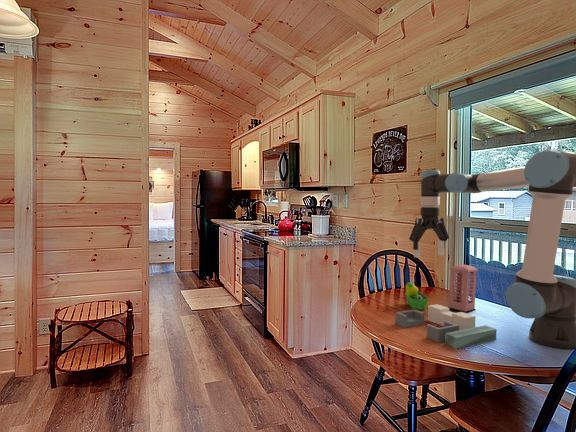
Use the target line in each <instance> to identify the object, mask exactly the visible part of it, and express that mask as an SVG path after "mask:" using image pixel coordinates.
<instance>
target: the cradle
mask: <svg viewBox="0 0 576 432" xmlns="http://www.w3.org/2000/svg"><path fill="white" fill-rule="evenodd" d="M425 315H426V314H425V312H423V311H420V310H417V309H415V310H414V309H411V310H410V309H409V310H404V311H403V310H402V311H397V312H395V314H394V316H395V317H394V324H395V325H397V326H399V327H401V328H404V329H405V328H412V327H417V326H422V325H425ZM454 331H459V325H457V324H454V323H451V322H448V321H445V322H444V326H441V327H438V326H436V325H433V324H430V323H429V324H426V339H430V340H431V341H433V342H437V343H441V342H445V333H449V332H454Z"/></svg>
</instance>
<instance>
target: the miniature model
mask: <svg viewBox="0 0 576 432" xmlns="http://www.w3.org/2000/svg"><path fill="white" fill-rule="evenodd" d="M449 270H450V278H449V279H450V281H449V297H448V306H447V307H448V308H449V310H453V311H456V312H457V311H458V312H463V313H467V314H468V313H470V312H473V311H476V310H477V309H476V306H475V305H476V304H475V303H476V287H477V273H478V271H479V270H478V268H477V267H475V266H472V265H468V264H457V265H453V266H451V267H450V268H449Z"/></svg>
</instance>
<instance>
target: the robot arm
mask: <svg viewBox="0 0 576 432" xmlns="http://www.w3.org/2000/svg"><path fill="white" fill-rule="evenodd" d="M523 188H528V190H527V191H528V194H530V195H531V197H532V200H531V201H532V202H531V209H530V214H529V215H530V216H529V222H528V230H527V236H526V240H525V241H526V243H525V248H524V253H523V254H524V256H523V260H522V268H521V269H520V270H518V271H516V274H515V277H514V278H515V280H514V283H512V284H510V285H509V287H507V288H506V292H505V301H506V303H507V305H508V307H510V309H511V311H513V314H514V313H515V315H517V316H519V317H521V318H523V319H533V321H532V323H531V325H530V328H529V331H528V337H529V339H530V340H531V341H532V342H533V341H534V342H535V343H538V344H539V345H543V346H547V347H551V348H556V349H564V350H575V348H576V278H574V277H570V276H565V275H558V274H554V270H555V264H556V257H557V253H558V245H559V239H560V234H561V227H562V221H563V217H564V215H563V214H564V209H565V203H566V200H567V199H569V198H571V197H572V196H573V193H574V192H573V191H574V188H576V152H574V151H566V150H565V151H564V150H559V149H546V150H542V151H541V150H540V151H539V152H536V153H535V154H533V155H532V156H531V157H530V158H528V160H527V161H526V163H525V166H520V167H516V168H515V167H514V168H506V169H502V170H495V171H489V172H481V173H474V174H465V173H464V174H463V173H459V172H458V173H457V172H456V173H455V172H452V173H444V174H442V173H441V171H440V170H438V169H430V170H428V169H427V170H423V171H422V172H421V178H420V206H421V207H420V216H421V217H420V218H417V217H416V218H415V219H414V220H415V221H414V226H413V228H412V230H411V233H410V235H409V238H408V239H409V241H411V242H412V245H413V246H412V249H413V257H414V258H415V259H417V258H418V259H420V258H421V242H420V241H421V238H422V237H423V235H425V233H426V231H427V230H428V229H429V230H431V229H432V230H433V231H434V233H435V234H436V236H437V238H438V240H437V256H439V257H440V256H441V257H445V256H444V255H445V248H446V242H447V241H448V240H449V239H450V236H449V233H448V231H447V227H446V225H445V221H444V219H445V218H444V217H439V216H440V205H441V203H440V202H441V201H440V198H441V197H440V196H441V193H446V194H447V193H450V194H451V193H453V194H455V193H457V194H458V193H461V194H462V193H463V194H469V193H470V194H479V193H483V192H491V191H492V192H493V191H502V190H511V189H513V190H514V189H523ZM573 348H574V349H573Z"/></svg>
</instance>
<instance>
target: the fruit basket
mask: <svg viewBox="0 0 576 432" xmlns="http://www.w3.org/2000/svg"><path fill="white" fill-rule="evenodd" d="M419 291H420V290H419V288H418V286H416V285H414V284H413V282H410V281H409V282H406V284H405V297H406V301H407V304H408V305H409V307H411V308H412V310H414V309H415V310H417V309H419V310H418V311H420V309H421V310H423V309H424V310H426V308H427V305H428V302H429V298H428V297H427V296H426V295H424V294H423V293H421V292H419Z"/></svg>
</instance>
